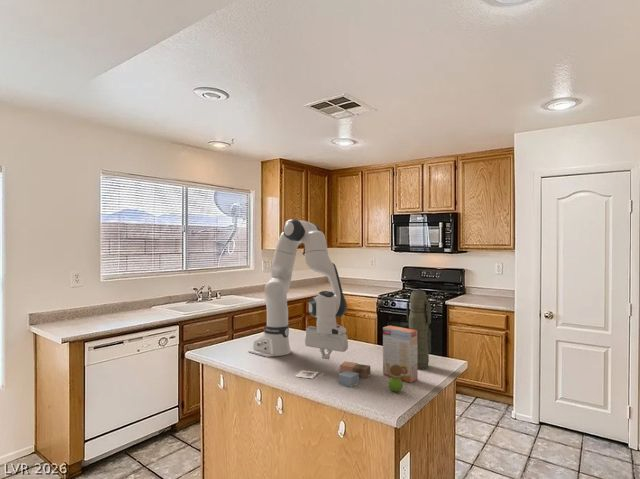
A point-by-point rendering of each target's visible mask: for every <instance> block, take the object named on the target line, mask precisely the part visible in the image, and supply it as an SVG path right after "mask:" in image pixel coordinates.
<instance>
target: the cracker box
mask: <svg viewBox="0 0 640 479" xmlns="http://www.w3.org/2000/svg"><path fill="white" fill-rule="evenodd" d="M386 359H387V362H388V363H389V364H390V365H389V367H390V368H391V366H393V365H395V364H397V365H399V366H400V367H401V368H402V373H401V374H400V375H402V377H400V379H401V381H402V382H407V383H413V382H415V381H418V378H419V377H418V373H419V372H418V370H419V369H418V364H417V363H418V362H417V330H412V329H409V328H406V327H401V326H394V325H387V326H384V327H382V375H384V376H387V377H390V378H392V377H391V376H390V375H389V373H388V371H387V366H386Z"/></svg>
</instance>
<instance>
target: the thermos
mask: <svg viewBox="0 0 640 479" xmlns="http://www.w3.org/2000/svg"><path fill="white" fill-rule="evenodd" d="M406 321H407V322H408V329H412V330H417V362H418V363H417V364H418V370H427V369H428V368H429V362H430V360H429V358H430V357H429V356H430V354H429V350H428V331H429V325H430V324H431V323H432V305H431V302H429V301H428V296H427V293H426V291H424V290H421V289H415V290H412V291H411V293H410V296H409V299H408V300H407V302H406Z"/></svg>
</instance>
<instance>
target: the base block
mask: <svg viewBox="0 0 640 479" xmlns="http://www.w3.org/2000/svg"><path fill="white" fill-rule="evenodd" d="M352 372H355V373H359V379H365V380H366V379H368V378H369V377H370V375H371V365H369V364H361V363H358V364H357V365H355V366H354V367H353V368H352Z"/></svg>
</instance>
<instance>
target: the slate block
mask: <svg viewBox="0 0 640 479" xmlns="http://www.w3.org/2000/svg"><path fill="white" fill-rule="evenodd" d="M359 382H360V378H359V373H355V372H351V371H344V372H343V373H341V374H340V373H338V385H341V386H346V387H350V388H353V386H356V385H357V384H359Z"/></svg>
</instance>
